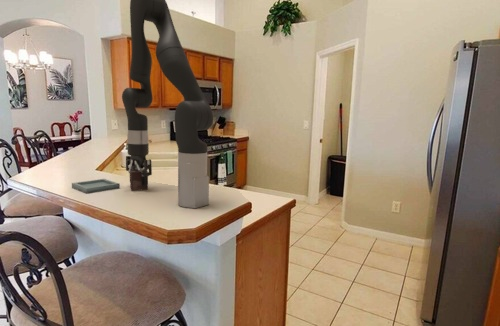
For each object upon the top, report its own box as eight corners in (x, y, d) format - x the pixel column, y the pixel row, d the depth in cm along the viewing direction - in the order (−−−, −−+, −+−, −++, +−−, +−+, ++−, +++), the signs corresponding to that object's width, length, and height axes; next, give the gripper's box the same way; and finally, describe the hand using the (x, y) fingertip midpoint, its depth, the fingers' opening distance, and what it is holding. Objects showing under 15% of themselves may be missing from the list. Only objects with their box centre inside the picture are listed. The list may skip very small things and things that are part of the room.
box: (147, 190, 120) (147, 171, 118) (131, 191, 117) (130, 171, 116) (146, 186, 125) (146, 168, 124) (130, 187, 123) (129, 169, 121)
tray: (119, 188, 121) (119, 183, 121) (86, 193, 111) (86, 188, 111) (104, 183, 129) (104, 178, 128) (71, 187, 119) (71, 183, 119)
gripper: (157, 143, 117) (157, 186, 119) (136, 140, 126) (137, 180, 128) (139, 144, 111) (140, 189, 114) (118, 141, 120) (119, 182, 122)
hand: (138, 184), depth 121 cm, fingers closed on box, 8 cm apart
